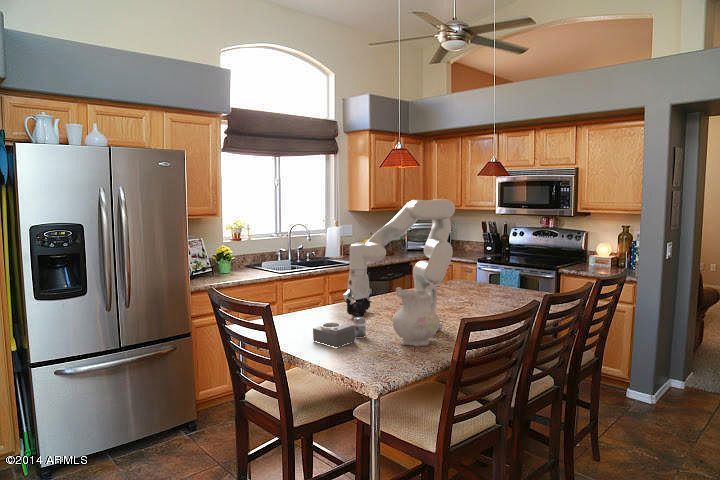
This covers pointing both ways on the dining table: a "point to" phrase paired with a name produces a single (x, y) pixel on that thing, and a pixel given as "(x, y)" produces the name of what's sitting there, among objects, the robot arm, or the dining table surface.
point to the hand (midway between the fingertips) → (357, 311)
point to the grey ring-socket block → (334, 334)
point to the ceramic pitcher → (416, 316)
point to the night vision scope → (359, 308)
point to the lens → (360, 326)
